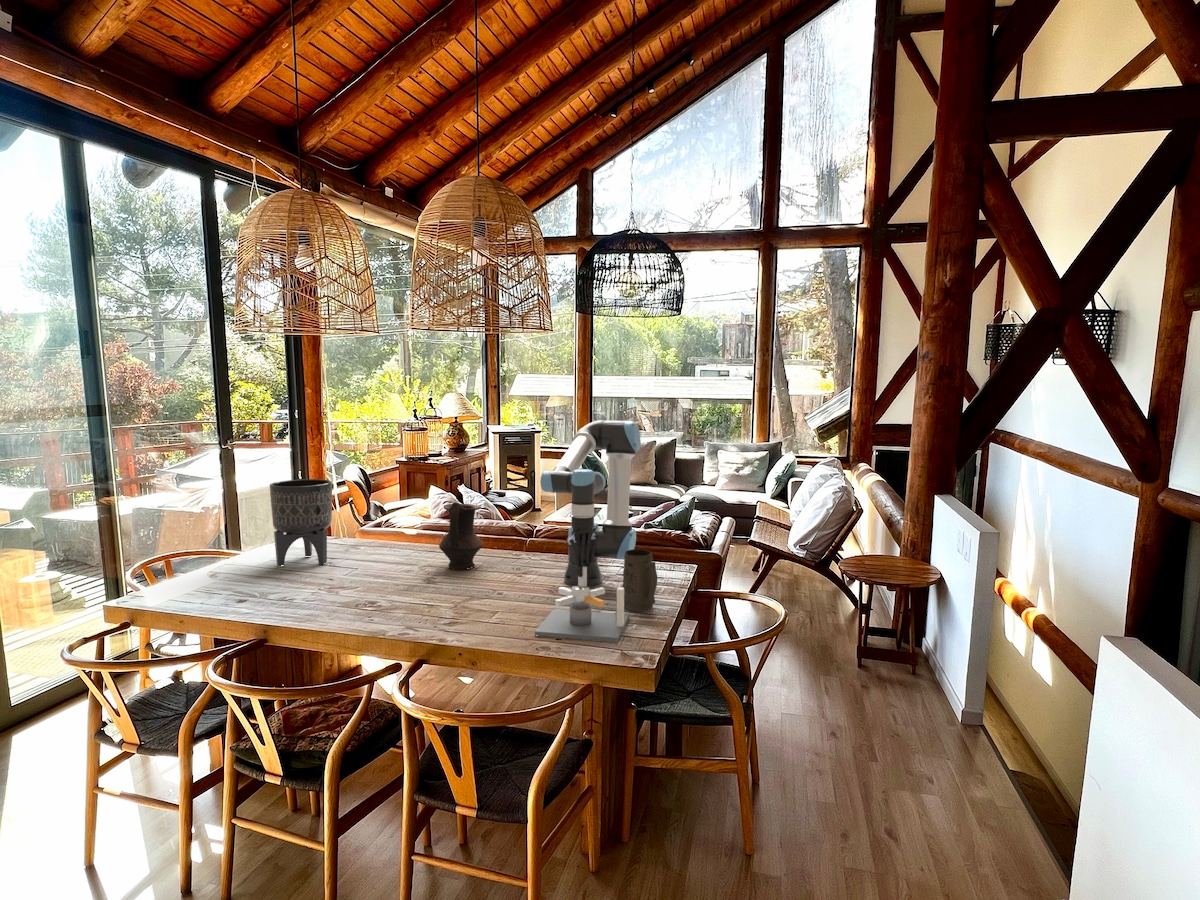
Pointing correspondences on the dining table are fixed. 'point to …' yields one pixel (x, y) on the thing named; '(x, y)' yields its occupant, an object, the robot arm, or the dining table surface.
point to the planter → (301, 515)
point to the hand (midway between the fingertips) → (582, 585)
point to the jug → (461, 536)
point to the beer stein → (639, 580)
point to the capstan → (580, 597)
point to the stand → (586, 623)
